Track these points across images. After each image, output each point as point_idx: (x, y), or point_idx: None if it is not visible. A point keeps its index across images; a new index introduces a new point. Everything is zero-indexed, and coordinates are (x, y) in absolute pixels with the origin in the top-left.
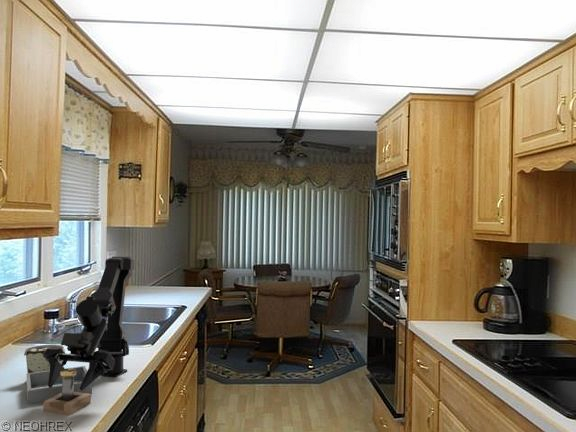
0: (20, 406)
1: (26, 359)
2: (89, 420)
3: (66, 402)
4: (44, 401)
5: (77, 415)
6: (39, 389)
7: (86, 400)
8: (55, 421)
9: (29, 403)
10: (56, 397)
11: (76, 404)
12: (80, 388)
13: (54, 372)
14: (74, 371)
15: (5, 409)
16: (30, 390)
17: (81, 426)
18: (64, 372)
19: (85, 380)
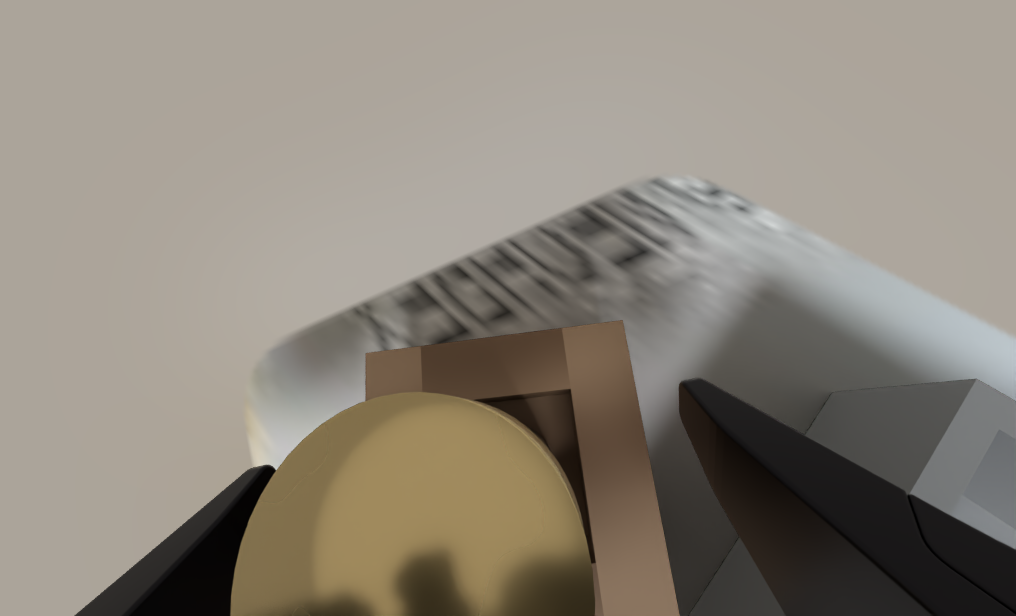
0: None
1: None
2: (308, 423)
3: (426, 381)
4: (615, 323)
5: None
6: (915, 474)
7: None
8: (485, 330)
9: (857, 398)
10: (601, 437)
11: None
12: (260, 467)
13: (844, 566)
14: (240, 601)
15: (987, 330)
16: (965, 401)
17: (303, 341)
18: (384, 421)
19: (146, 558)
